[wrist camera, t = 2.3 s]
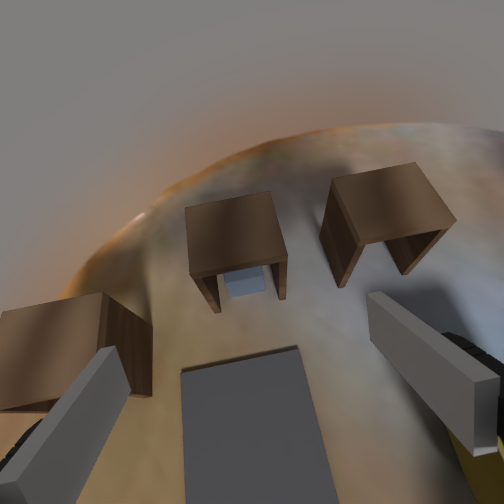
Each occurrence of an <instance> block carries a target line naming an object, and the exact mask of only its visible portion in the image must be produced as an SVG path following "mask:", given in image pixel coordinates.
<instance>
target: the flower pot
mask: <svg viewBox="0 0 504 504" xmlns="http://www.w3.org/2000/svg"><path fill="white" fill-rule="evenodd" d="M445 426H446V425H445ZM446 428H447V431H448V434H449V436H450V439H451V441H452V444H453V446H454V449H455V451H456V454H457V457H458V459H459V462H460V464H461V467H462V470H463V472H464V475H465V477H466V480H467V482H468V485H469V487H470V489H471V491H472V493H473V495H474V497H475V499H476V501H477V502H478V504H504V441H503V440H502V439H501V438H500V437H499V436H498V448H497V452H493V453H488V454H484V455H479V456H475V457H473V455H472V454H471V453H470V452H469V451H468V450H467V449H466V448H465V446H464V445H463V444H462V443H461V442H460V441H459V440H458V439H457V437H456V436H455V435H454V434H453V433H452V432H451V431H450V430H449V428H448V427H447V426H446Z"/></svg>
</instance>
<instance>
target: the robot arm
mask: <svg viewBox="0 0 504 504" xmlns="http://www.w3.org/2000/svg"><path fill="white" fill-rule="evenodd" d="M366 300H367V311H368V321H369V332H370V340H371V341H372V343H373V344H374V345H375V346H376V347H377V348H378V349H379V351H380V352H381V353H382V354H383V355H384V356H385V357H386V358H387V360H388V361H389V362H390V363H391V364H392V365H393V366H394V367H395V369H396V370H397V371H398V372H399V373H400V374H401V375H402V376H403V378H404V379H405V380H406V381H407V382H408V383H409V384H410V385H411V387H412V388H413V389H414V390H415V391H416V392H417V393H418V395H419V396H420V397H421V398H422V399H423V400H424V401H425V402H426V404H427V405H428V406H429V407H430V408H431V409H432V410H433V411H434V413H435V414H436V415H437V416H438V417H439V418H440V419H441V420H442V422H443V423H444V424H445V425H446V426H447V427H448V428H449V430H450V431H451V432H452V433H453V434H454V435H455V436H456V437H457V439H458V440H459V441H460V442H461V443H462V444H463V445H464V446H465V448H466V449H467V450H468V451H469V452H470V453H471V454H472V455H473V457H475V456H479V455H484V454H488V453H493V452H497V448H498V436H499V437H500V438H501V439H502V440H503V441H504V364H503V363H501V362H500V361H498V360H497V359H495V358H494V357H492V356H491V355H489V354H486V352H485V351H483V350H482V349H480V348H479V347H476V345H474V344H473V343H471V342H470V341H468V340H467V339H465V338H463V337H461V336H458V335H455V334H453V333H450V332H447V333H442V334H440V333H439V332H437V331H436V330H434V329H433V328H432V327H430V326H429V325H427V324H426V323H425V322H423V321H422V320H420V319H419V318H418V317H416V316H415V315H413V314H412V313H411V312H409V311H408V310H406V309H405V308H404V307H402V306H401V305H399V304H398V303H397V302H395V301H394V300H393V299H391V298H390V297H388V296H387V295H386V294H384V293H383V292H381V291H376V292H371V293H367V294H366ZM130 392H131V389H130V386H129V383H128V380H127V377H126V375H125V372H124V369H123V366H122V363H121V360H120V358H119V355H118V352H117V349H116V346H110V347H105V348H100V350H99V351H98V352H97V353H96V354H95V356H94V357H93V358H92V359H91V361H90V362H89V363H88V364H87V366H86V367H85V368H84V369H83V371H82V372H81V373H80V374H79V375H78V377H77V378H76V379H75V380H74V382H73V383H72V384H71V385H70V387H69V388H68V389H67V390H66V392H65V393H64V394H63V395H62V397H61V398H60V399H59V400H58V401H57V403H56V404H55V405H54V406H53V408H52V409H51V410H50V411H49V413H48V414H47V415H46V416H45V418H43V419H40V420H39V421H38V422H36V423H35V424H34V425H33V426H32V427H31V428H29V429H28V430H27V431H26V432H25V433H24V434H23V435H22V437H21V438H20V439H19V440H18V441H17V443H16V444H15V447H12V449H11V450H10V451H9V452H8V453H7V455H6V457H5V458H4V459H2V460H1V462H0V504H75V503H76V501H77V499H78V497H79V495H80V493H81V491H82V489H83V487H84V485H85V483H86V481H87V479H88V477H89V475H90V473H91V471H92V469H93V467H94V465H95V463H96V461H97V458H98V456H99V454H100V452H101V450H102V448H103V446H104V444H105V442H106V440H107V438H108V436H109V434H110V432H111V430H112V428H113V426H114V424H115V422H116V420H117V418H118V416H119V414H120V412H121V410H122V408H123V406H124V404H125V402H126V400H127V398H128V396H129V394H130Z"/></svg>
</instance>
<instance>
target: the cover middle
mask: <svg viewBox="0 0 504 504" xmlns="http://www.w3.org/2000/svg"><path fill="white" fill-rule="evenodd" d="M185 216H186V230H187V245H188V259H189V273H190V276H191V277H192V279H193V280H194V282H195V283H196V285H197V286H198V288H199V290H200V291H201V293H202V294H203V296H204V297H205V299H206V300H207V302H208V304H209V305H210V307H211V308H212V310H213V311H214V313H220V312H221V307H220V299H219V291H218V283H217V274H222V273H227V272H232V271H237V270H242V269H247V268H252V267H257V266H262V265H267V264H271V268H272V272H273V276H274V280H275V284H276V288H277V292H278V297H279V300H284V299H286V280H287V259H288V254H287V250H286V247H285V243H284V240H283V236H282V233H281V229H280V226H279V222H278V219H277V215H276V212H275V208H274V205H273V202H272V198H271V195H270V191H266V192H261V193H256V194H251V195H246V196H241V197H236V198H231V199H226V200H221V201H216V202H211V203H206V204H201V205H196V206H191V207H185Z"/></svg>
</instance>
